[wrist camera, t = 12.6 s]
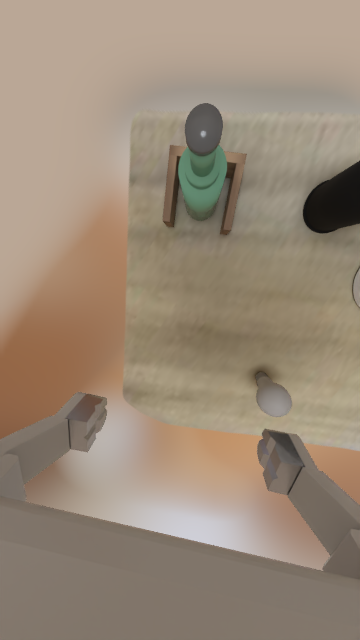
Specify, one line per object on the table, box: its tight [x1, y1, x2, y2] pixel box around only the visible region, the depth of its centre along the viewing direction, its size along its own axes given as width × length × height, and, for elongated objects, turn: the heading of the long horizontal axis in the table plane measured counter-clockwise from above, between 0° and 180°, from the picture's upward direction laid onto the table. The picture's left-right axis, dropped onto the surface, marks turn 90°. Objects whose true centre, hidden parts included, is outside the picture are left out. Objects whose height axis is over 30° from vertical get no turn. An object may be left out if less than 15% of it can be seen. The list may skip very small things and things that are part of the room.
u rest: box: [163, 145, 247, 235], centre depth 31 cm, size 11×10×5 cm
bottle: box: [178, 103, 227, 221], centre depth 24 cm, size 6×6×20 cm
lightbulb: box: [256, 372, 292, 417], centre depth 37 cm, size 6×6×11 cm
